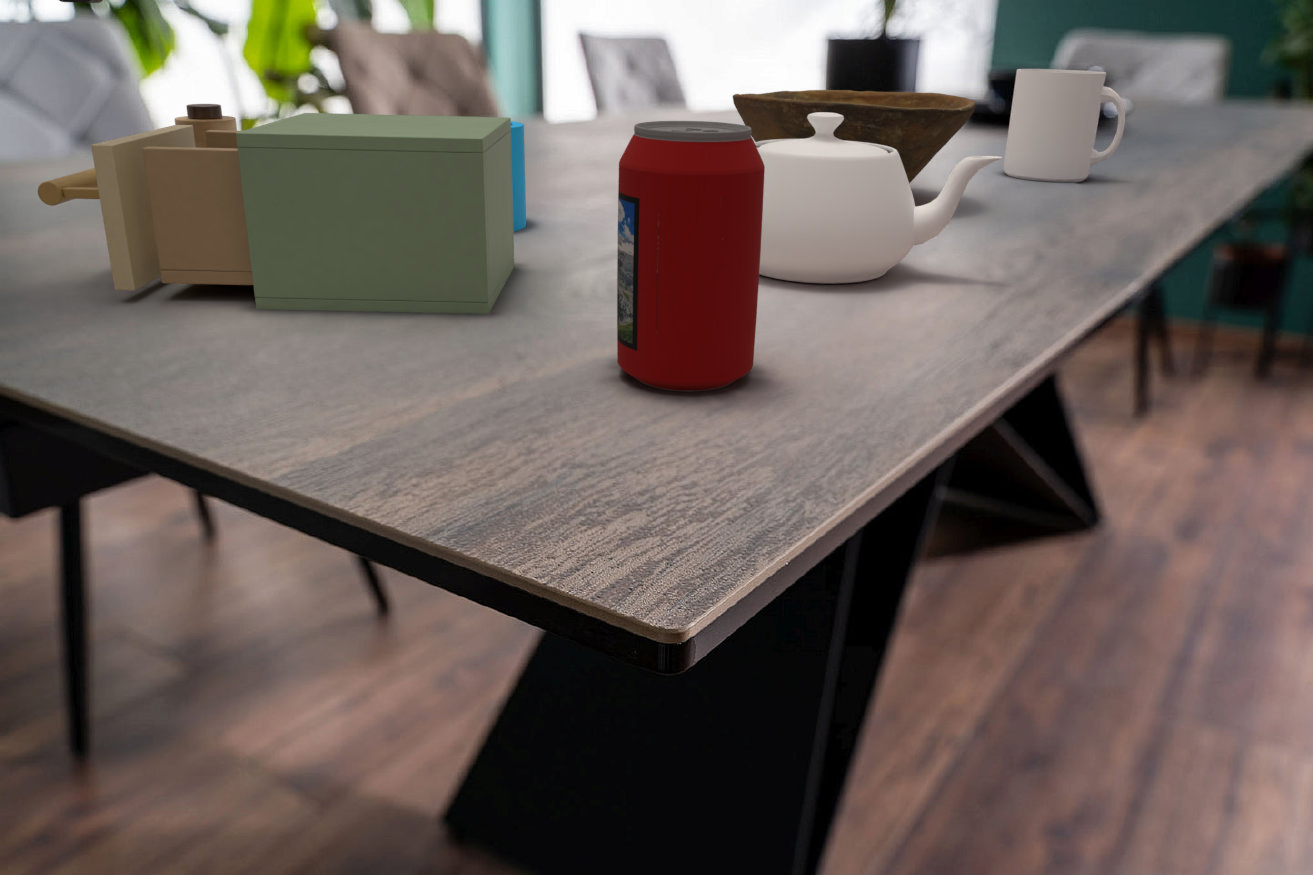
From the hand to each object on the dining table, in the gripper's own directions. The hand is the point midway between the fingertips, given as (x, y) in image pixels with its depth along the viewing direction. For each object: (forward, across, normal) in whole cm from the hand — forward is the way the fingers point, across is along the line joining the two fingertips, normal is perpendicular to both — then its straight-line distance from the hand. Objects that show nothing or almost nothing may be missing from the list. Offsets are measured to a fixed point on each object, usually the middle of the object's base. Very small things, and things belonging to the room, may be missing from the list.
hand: (80, 2), depth 63 cm
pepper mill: (+17, -23, -3) cm, 28 cm away
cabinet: (+16, 0, +17) cm, 24 cm away
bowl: (+16, -39, +52) cm, 67 cm away
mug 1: (+17, -23, +18) cm, 34 cm away
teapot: (+16, -8, +46) cm, 49 cm away
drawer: (+16, 0, +6) cm, 17 cm away
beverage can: (+16, +17, +35) cm, 43 cm away
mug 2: (+16, -59, +80) cm, 101 cm away
